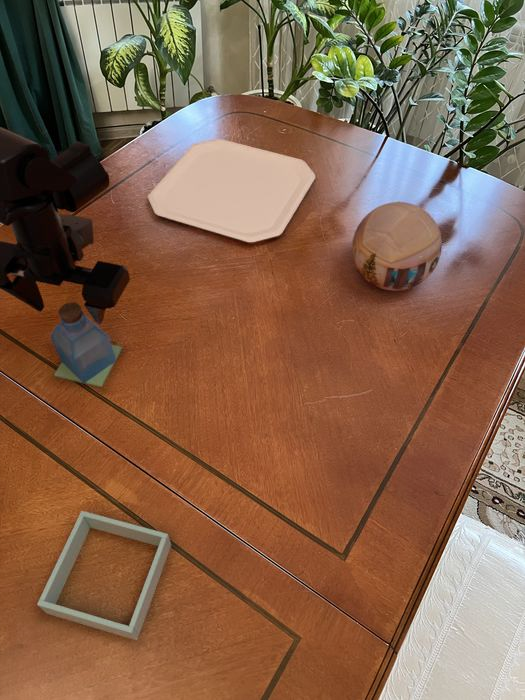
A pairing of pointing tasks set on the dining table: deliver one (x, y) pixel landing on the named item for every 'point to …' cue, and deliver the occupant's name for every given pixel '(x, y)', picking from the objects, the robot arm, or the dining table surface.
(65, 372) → the mat
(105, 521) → the square frame
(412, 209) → the ornament
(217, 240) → the dining table surface
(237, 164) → the plate
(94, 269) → the robot arm
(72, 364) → the perfume bottle
